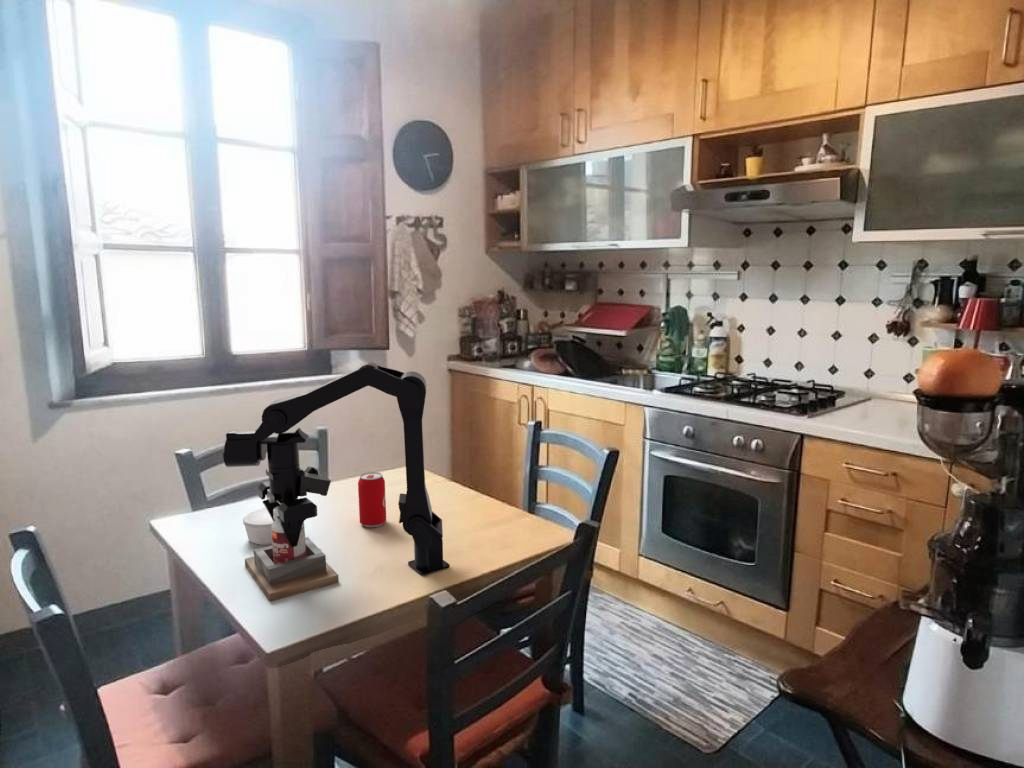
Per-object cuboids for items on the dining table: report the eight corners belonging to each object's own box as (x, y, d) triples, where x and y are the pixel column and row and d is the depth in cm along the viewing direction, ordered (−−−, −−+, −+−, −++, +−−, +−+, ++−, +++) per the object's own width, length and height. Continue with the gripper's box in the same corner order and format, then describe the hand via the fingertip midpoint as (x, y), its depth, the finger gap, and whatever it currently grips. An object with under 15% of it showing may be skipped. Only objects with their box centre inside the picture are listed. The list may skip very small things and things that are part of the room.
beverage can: (389, 519, 158) (388, 471, 155) (382, 529, 151) (380, 479, 149) (364, 518, 158) (362, 471, 156) (356, 528, 152) (353, 479, 150)
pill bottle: (267, 566, 127) (262, 511, 125) (287, 554, 132) (284, 501, 131) (293, 571, 125) (289, 515, 123) (313, 558, 130) (309, 504, 129)
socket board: (338, 582, 125) (337, 560, 125) (269, 601, 118) (268, 578, 117) (308, 550, 140) (307, 530, 139) (245, 565, 133) (243, 544, 132)
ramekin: (307, 534, 149) (306, 512, 148) (267, 551, 140) (266, 528, 139) (274, 524, 155) (273, 503, 154) (234, 540, 145) (232, 518, 144)
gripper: (341, 468, 122) (346, 546, 125) (309, 447, 137) (313, 517, 140) (281, 479, 116) (287, 561, 119) (254, 456, 131) (260, 529, 134)
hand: (289, 540), depth 128 cm, fingers closed on pill bottle, 6 cm apart
